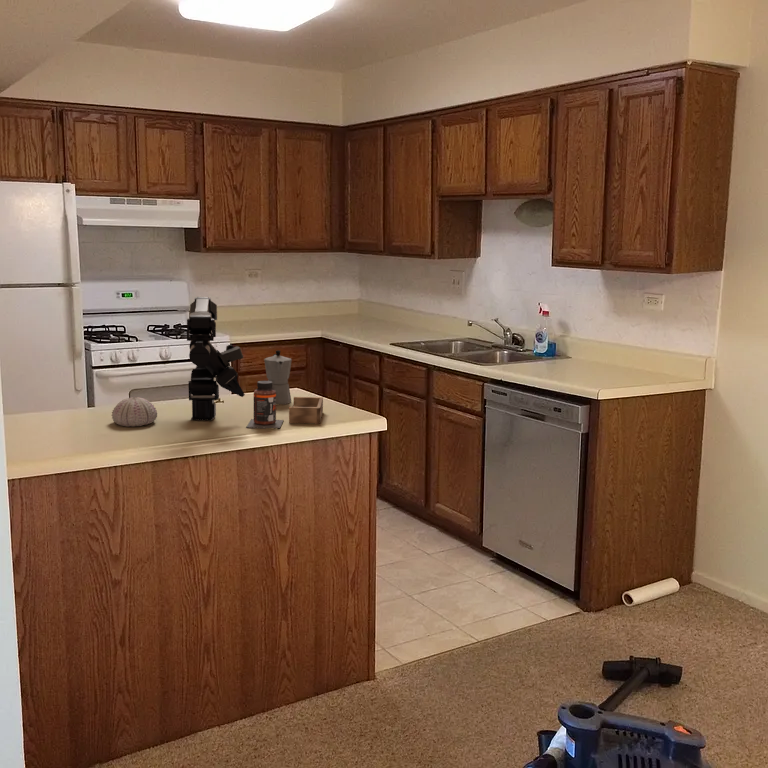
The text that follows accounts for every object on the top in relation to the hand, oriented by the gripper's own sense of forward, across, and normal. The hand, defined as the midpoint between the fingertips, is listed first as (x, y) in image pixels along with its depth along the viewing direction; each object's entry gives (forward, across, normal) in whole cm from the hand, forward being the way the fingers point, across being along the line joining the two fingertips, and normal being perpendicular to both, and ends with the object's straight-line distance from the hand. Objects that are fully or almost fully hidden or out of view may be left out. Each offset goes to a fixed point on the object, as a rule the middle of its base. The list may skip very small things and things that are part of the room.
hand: (241, 393), depth 252 cm
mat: (+12, -2, +1) cm, 12 cm away
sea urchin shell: (-12, +8, +30) cm, 33 cm away
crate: (+21, +5, -10) cm, 24 cm away
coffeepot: (+18, +31, -7) cm, 36 cm away
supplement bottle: (+12, -2, +1) cm, 12 cm away
